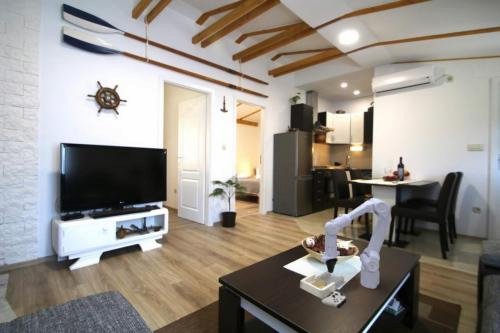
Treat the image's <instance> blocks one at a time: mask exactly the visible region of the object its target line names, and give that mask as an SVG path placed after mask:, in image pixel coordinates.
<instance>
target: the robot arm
mask: <svg viewBox="0 0 500 333" xmlns="http://www.w3.org/2000/svg"><path fill="white" fill-rule="evenodd" d="M366 213H371V214H375V216H376V217H377V221H376V224H375V227H374V230H373V231H372V235H371V237H370V241H369V243H368V245H367V247H365V249H364V250H363V252H362V253H361V254H360V255H359V261H360V262H361V265H360V285H362V287H365V288H367V289H376V288H377V287H378V286H379V285H380V270H379V268H380V260H381V257H380V251H381V248H382V246H383V244H384V240H385V238H386V235H387V233H388V231H389V227H390V226H391V222H392V216H391V207H390V205H389V204H388V203H387V201H385V200H382V199H379V198H377V197H372V198H370V199H368V200H366V201H364V203H361V204H360V205H359V206H358V207H356V208H354V209H353V210H351V211H350V212H349V213H347V214H346V213H343V214H342V213H340V214H338V217H336V218H334V219H331V220H330V221H327V222H326V223H325V224H324V225H323V228H324V230H325V234H324V235H325V236H324V251H323V252H322V254H323V255H322V257H320V261H321V262H322V263H325V264H326V269H327V271H328V272H330V273H331V274H333V273H334V271H335V267H336V264H337V262H338V261H339V258H338V256H340V255H341V252H340V251H339V250H338V237H337V236H338V233H339V231H341V230H343V229H345V228H346V227H347V226H349V225H351V224H352V221H353V220H355V219H357V218H359V217H360V216H362V215H364V214H366Z"/></svg>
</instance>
